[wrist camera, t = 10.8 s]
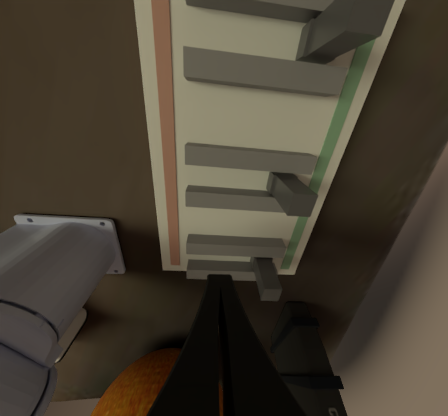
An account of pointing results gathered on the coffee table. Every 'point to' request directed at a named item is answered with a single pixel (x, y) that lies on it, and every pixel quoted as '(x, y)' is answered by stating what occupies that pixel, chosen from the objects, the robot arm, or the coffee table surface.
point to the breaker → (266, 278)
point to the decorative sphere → (140, 385)
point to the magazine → (306, 362)
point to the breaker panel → (242, 125)
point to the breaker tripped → (342, 29)
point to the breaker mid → (291, 194)
